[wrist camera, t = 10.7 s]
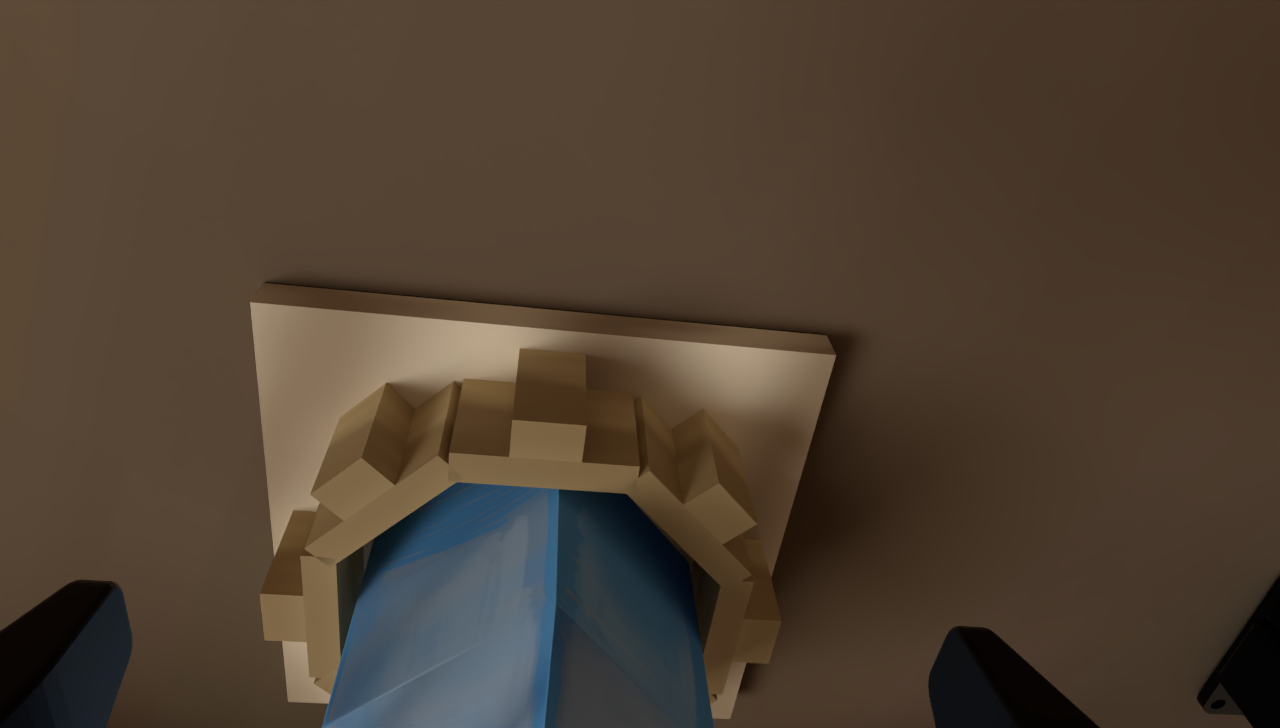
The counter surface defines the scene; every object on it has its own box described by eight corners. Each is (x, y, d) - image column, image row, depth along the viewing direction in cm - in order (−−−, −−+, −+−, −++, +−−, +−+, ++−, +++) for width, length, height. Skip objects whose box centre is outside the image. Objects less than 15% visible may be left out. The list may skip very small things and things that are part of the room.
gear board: (827, 335, 23) (869, 425, 20) (725, 693, 30) (744, 804, 27) (262, 282, 22) (204, 371, 18) (296, 675, 29) (258, 791, 25)
